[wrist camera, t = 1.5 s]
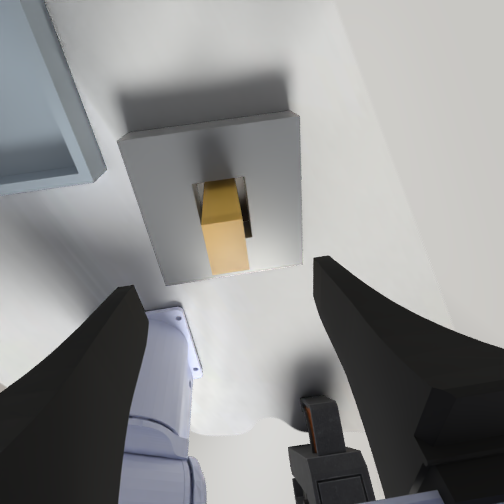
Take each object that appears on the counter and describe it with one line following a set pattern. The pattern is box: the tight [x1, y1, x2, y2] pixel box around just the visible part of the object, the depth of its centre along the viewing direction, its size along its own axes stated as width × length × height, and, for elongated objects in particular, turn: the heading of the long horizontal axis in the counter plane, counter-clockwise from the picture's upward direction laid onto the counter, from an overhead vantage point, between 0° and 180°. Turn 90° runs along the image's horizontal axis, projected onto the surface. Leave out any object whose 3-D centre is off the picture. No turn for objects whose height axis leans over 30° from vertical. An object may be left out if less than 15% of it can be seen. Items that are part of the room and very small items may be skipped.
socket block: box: [117, 111, 303, 286], centre depth 20 cm, size 10×10×2 cm
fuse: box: [201, 178, 250, 275], centre depth 18 cm, size 3×2×7 cm, turn 7°
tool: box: [288, 395, 376, 504], centre depth 35 cm, size 6×19×15 cm
